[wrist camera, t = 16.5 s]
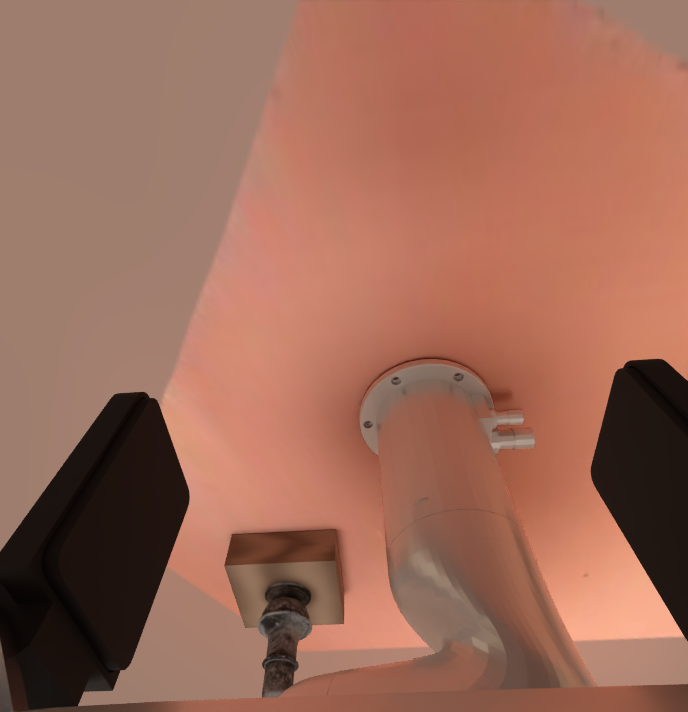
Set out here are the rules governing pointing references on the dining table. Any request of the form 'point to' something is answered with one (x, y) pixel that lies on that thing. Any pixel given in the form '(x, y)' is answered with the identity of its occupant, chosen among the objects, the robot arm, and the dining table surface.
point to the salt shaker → (283, 634)
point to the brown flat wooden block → (287, 572)
